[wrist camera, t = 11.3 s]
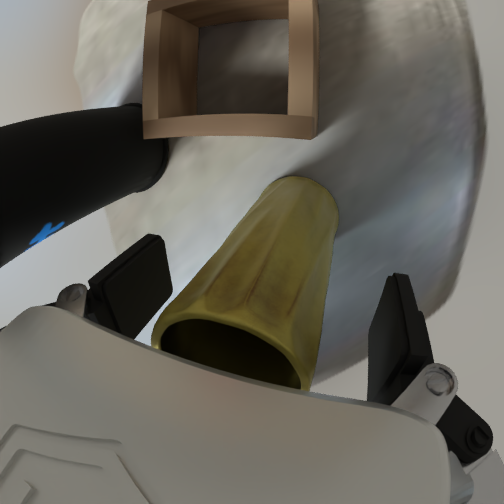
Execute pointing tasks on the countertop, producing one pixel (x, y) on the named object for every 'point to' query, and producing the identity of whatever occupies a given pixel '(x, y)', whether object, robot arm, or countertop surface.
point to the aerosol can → (71, 170)
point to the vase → (260, 291)
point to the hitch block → (186, 66)
